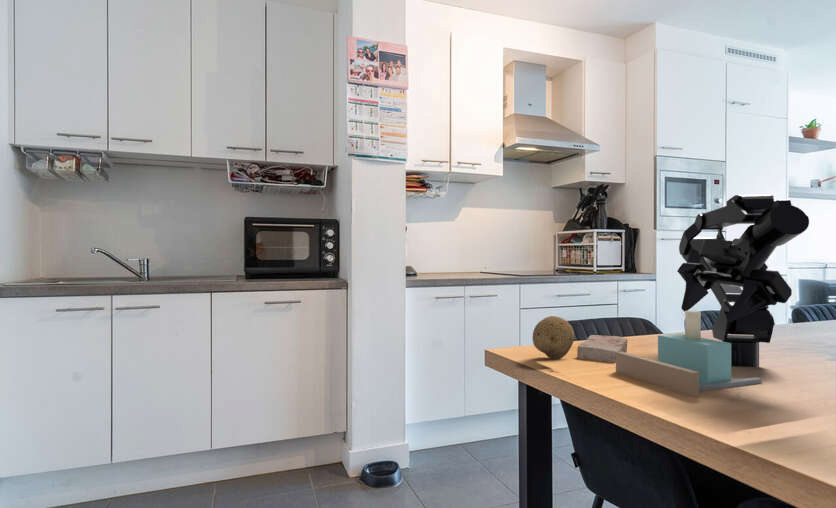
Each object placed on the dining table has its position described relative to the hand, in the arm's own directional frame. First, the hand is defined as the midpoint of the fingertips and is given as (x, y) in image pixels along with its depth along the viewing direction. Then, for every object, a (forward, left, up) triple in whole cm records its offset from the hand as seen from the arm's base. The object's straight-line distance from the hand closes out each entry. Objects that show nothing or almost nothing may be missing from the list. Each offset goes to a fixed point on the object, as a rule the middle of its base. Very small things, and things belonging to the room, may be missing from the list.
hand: (704, 314), depth 83 cm
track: (+4, +1, -13) cm, 13 cm away
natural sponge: (+15, -25, -13) cm, 32 cm away
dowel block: (+4, +1, -11) cm, 12 cm away
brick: (+4, -21, -13) cm, 25 cm away
